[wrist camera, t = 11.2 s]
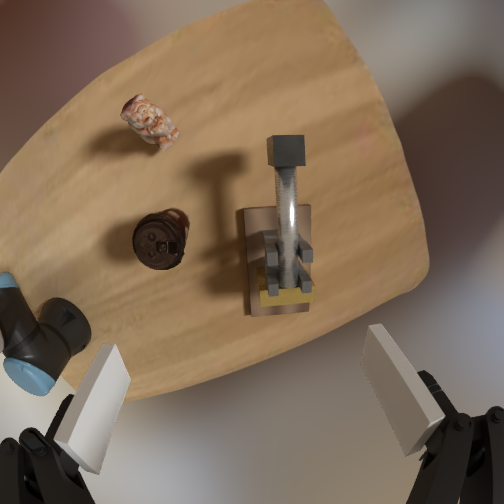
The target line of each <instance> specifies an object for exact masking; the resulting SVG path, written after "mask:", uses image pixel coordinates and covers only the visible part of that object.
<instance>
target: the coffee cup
mask: <svg viewBox="0 0 504 504" xmlns="http://www.w3.org/2000/svg"><path fill="white" fill-rule="evenodd" d="M189 225H190V222H189V218H188V215H187V214H185V213H184V211H183V210H180V209H179V208H170V209H167V210H165V211H163V212H159V213H158V214H149V215H147V216H146V217H144V218H143V219H142V220H141V221H140V222H139V223H138V225H137V227H136V228H135V230H134V233H133V248H134V251H135V253H136V255H137V257H138V259H139V261H140V262H142V263H143V264H144V265H145V266H147V267H149V268H152V269H155V270H168V269H171V268H173V267H175V266H177V265H178V264H179V263H181V260H182V257H183V255H184V248H185V245H186V239H187V237H188V231H189Z"/></svg>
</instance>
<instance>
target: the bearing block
mask: <svg viewBox="0 0 504 504" xmlns="http://www.w3.org/2000/svg"><path fill="white" fill-rule="evenodd" d="M244 222H245V236H246V250H247V264H248V277H249V291H250V304H251V317H256V316H268V315H279V314H289V313H298V312H307V311H309V302H308V303H298V304H288V305H278V306H267V307H261V306H260V300H259V293H258V287H257V277H256V268H264V269H265V273H266V286H267V290H268V295H269V297H272V296H279V271H278V237H277V210H276V206H267V207H252V208H244ZM311 262H313V249H312V247H311V205H309V204H303V205H298V285H299V287H300V290H301V292H302V294H303V293H312V280H311V278H310V271H311ZM302 265H304V267H305V269H306V270H307V271H306V270H304V269H303V267H302Z"/></svg>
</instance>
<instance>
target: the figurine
mask: <svg viewBox="0 0 504 504" xmlns="http://www.w3.org/2000/svg"><path fill="white" fill-rule="evenodd" d="M120 116H121V118H122V119H123V120H126V121H127V122H128V123H129V126H130V128H131V129H132V130H134V131H135V132H136V133H138V134H139V136H140V137H141V138H142V139H143V140H144V141H145V142H147V143H148V144H158V145H159V146H160V148H161V149H162V150H167V149H168V148H169V147H170V146H171V145H172V144H173V143H174V141H175V140H176V138H177V137H178V136H179V131H178V130H177V128H176V127H175V126H174V125H173V124H172V120H171V119H170V117H168V116H167V115H166V114H165V113H163V111H162V109H161V108H160V107H159V106H157V105H154V104H152V103H151V102H150V101H149V100H147V99H145V98H144V96H143V94H139V95H136V96H135V97H134V98H132V99H130V100H129V101H128V102H127V103H126V104H125V105H124V107H123V109H122V112H121V115H120Z"/></svg>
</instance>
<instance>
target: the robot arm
mask: <svg viewBox="0 0 504 504" xmlns="http://www.w3.org/2000/svg"><path fill="white" fill-rule="evenodd" d="M90 340H91V328H90V325H89V323H88V321H87V319H86V317H85V316H84V315H83V313H82V312H81V311H80V310H79V309H78V308H77V307H76V306H75V305H74V304H72V303H71V302H69V301H67V300H65V299H62V298H53V299H51V300H49V301H48V302H47V303H46V304H45V305H44V307H43V308H42V311H41V314H40V317H39V319H38V322H37V321H36V319H35V317H34V315H33V314H32V312H31V310H30V308H29V306H28V304H27V302H26V300H25V299H24V297H23V295H22V293H21V291H20V287H19V286H18V285H17V283H16V281H15V279H14V277H13V276H12V274H10V273H9V272H4V273H1V274H0V353H1V352H3V354H4V355H5V357H6V358H5V359H4V363H3V366H4V368H5V371H6V373H7V374H8V376H9V377H10V378H11V379H12V380H13V381H14V382H15V383H16V384H17V385H18V386H20V387H21V388H22V389H24V390H25V391H27V392H29V393H31V394H33V395H36V396H45V395H47V394H48V393H49V391H50V390H51V389H52V387H53V386H55V383H56V381H57V379H58V378H59V376H60V374H61V373H62V371H63V369H64V368H65V366H66V365H67V363H68V361H69V360H70V358H71V357H73V356H74V355H76V354H77V353H79V352H81V351H82V350H84V349H85V348H86V347H87V345H88V343H89V342H90ZM360 365H361V367H362V369H363V371H364V373H365V375H366V377H367V378H368V380H369V382H370V384H371V386H372V388H373V390H374V392H375V394H376V396H377V398H378V400H379V402H380V404H381V406H382V408H383V410H384V412H385V414H386V416H387V418H388V420H389V422H390V424H391V427H392V429H393V431H394V433H395V435H396V437H397V439H398V441H399V444H400V446H401V448H402V450H403V452H404V454H405V456H409V455H411V454H413V453H415V452H418V451H420V450H421V449H422V447H423V446H424V445H426V447H427V450H426V451H425V452H424V454H423V455H422V456H421V457H420V459H419V460H420V461H421V460H422V459H423V461H422V464H421V467H420V470H419V473H418V475H417V478H416V481H415V483H414V486H413V488H412V491H411V493H410V496H409V498H408V500H407V502H406V504H457V503H458V500H459V497H460V503H459V504H504V409H503V408H501V407H499V406H494V407H491V409H489V410H488V412H487V413H486V414H485V415H481V416H476V417H470V416H469V415H467V414H464V413H458V412H457V410H456V409H455V408H454V406H453V405H452V403H451V402H450V400H449V399H448V397H447V396H446V394H445V393H444V392H443V391H442V389H441V387H440V386H439V385H438V384H437V382H436V380H435V379H434V378H433V376H432V375H430V374H429V373H428V372H426V371H425V370H423V371H420V372H416V371H415V370H414V368H413V367H412V365H411V364H410V362H409V361H408V360H407V358H406V357H405V356H404V354H403V353H402V351H401V350H400V348H399V347H398V346H397V344H396V343H395V342H394V340H393V339H392V337H391V336H390V335H389V334H388V332H387V331H386V329H385V328H384V327H383V326H382V324H376V325H371V326H368V331H367V336H366V341H365V345H364V350H363V354H362V359H361V363H360ZM130 382H131V379H130V376H129V374H128V372H127V370H126V368H125V365H124V363H123V361H122V358H121V356H120V354H119V351H118V349H117V346H116V344H114V343H103V345H102V346H101V348H100V350H99V352H98V353H97V355H96V357H95V359H94V360H93V362H92V364H91V366H90V368H89V369H88V371H87V373H86V375H85V377H84V378H83V380H82V382H81V384H80V386H79V388H78V390H77V392H76V394H75V395H72V394H69V395H68V396H67V397H66V398H65V399H64V400H63V401H62V403H61V405H60V407H59V410H58V411H57V413H56V416H55V417H54V419H53V421H52V423H51V425H50V427H49V429H48V431H47V433H46V435H45V437H44V436H43V435H42V434H41V433H40V431H38V430H37V429H36V428H32V427H31V428H27V429H25V430H24V431H23V432H22V433H21V434H20V437H19V443H20V444H19V443H18V442H17V441H16V440H15V439H13V438H6V439H4V440H3V441H2V442H1V444H0V504H95V502H94V500H93V498H92V497H91V495H90V492H89V490H88V489H87V486H86V484H85V482H84V480H83V478H82V476H81V474H80V472H79V471H78V467H79V465H80V466H81V467H82V468H83V469H84V470H85V471H87V472H91V473H94V474H98V475H99V473H100V470H101V467H102V463H103V460H104V457H105V454H106V450H107V447H108V444H109V441H110V438H111V435H112V432H113V429H114V426H115V423H116V420H117V417H118V414H119V411H120V409H121V406H122V403H123V400H124V398H125V395H126V392H127V389H128V387H129V384H130Z"/></svg>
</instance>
